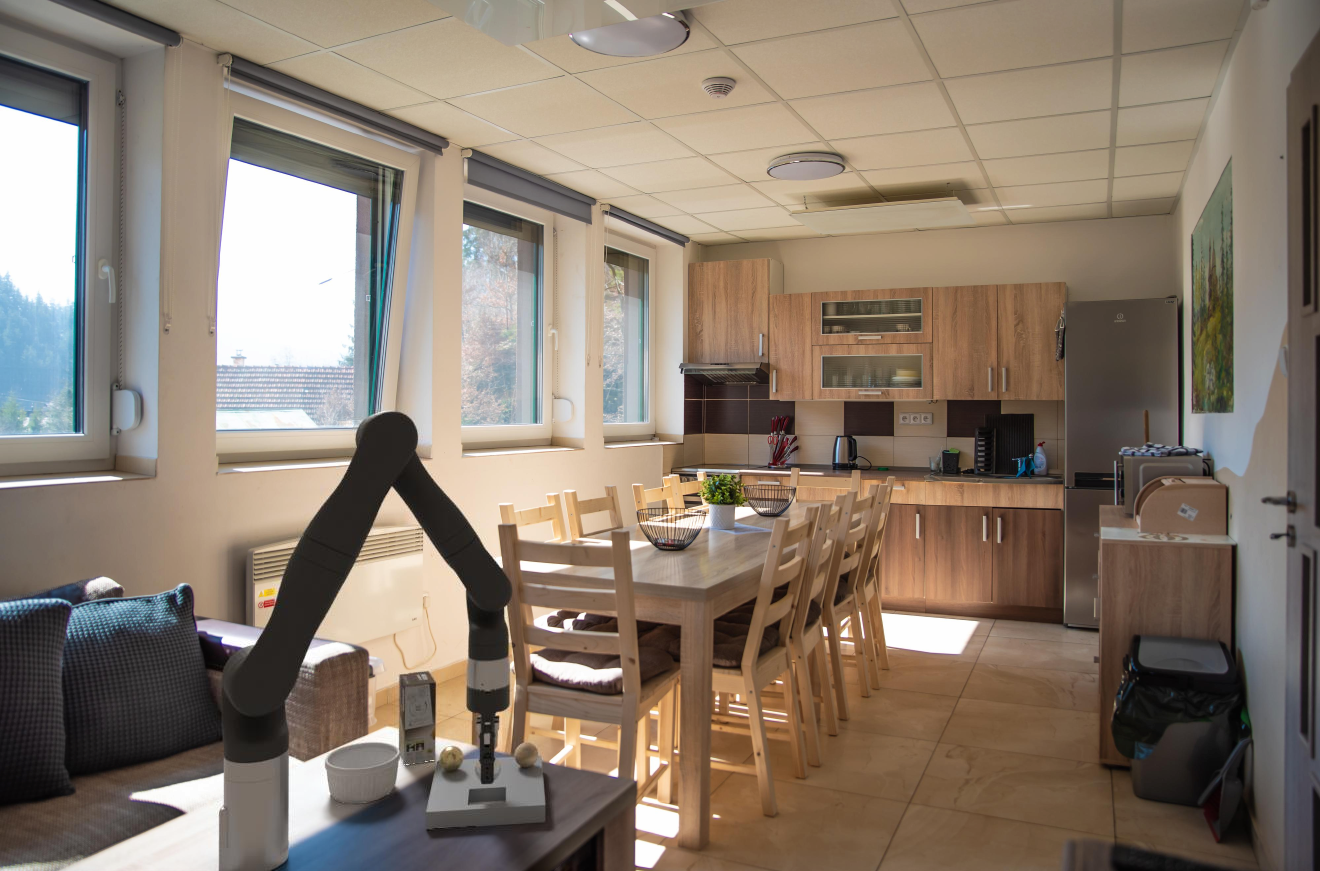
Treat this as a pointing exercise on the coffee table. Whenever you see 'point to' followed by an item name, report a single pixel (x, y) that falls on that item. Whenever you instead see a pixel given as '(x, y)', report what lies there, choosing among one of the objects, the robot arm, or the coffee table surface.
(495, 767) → the steel ball
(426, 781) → the coffee table surface
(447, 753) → the brass ball
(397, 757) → the ramekin
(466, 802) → the board
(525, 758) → the oak ball
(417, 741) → the coffee box
